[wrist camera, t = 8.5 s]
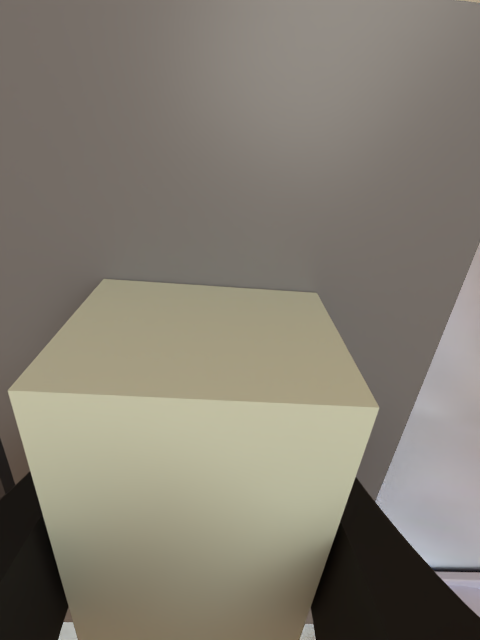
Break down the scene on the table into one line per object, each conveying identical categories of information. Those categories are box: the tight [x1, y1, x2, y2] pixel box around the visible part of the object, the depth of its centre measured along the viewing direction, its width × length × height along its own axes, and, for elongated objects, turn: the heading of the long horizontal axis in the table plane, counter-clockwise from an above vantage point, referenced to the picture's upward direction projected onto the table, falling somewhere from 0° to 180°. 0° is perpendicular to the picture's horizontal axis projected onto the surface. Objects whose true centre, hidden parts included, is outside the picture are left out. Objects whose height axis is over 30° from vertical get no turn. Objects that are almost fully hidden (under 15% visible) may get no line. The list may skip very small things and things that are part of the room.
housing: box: [0, 0, 480, 624], centre depth 10 cm, size 12×22×6 cm, turn 175°
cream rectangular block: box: [8, 279, 379, 640], centre depth 9 cm, size 5×9×4 cm, turn 175°
